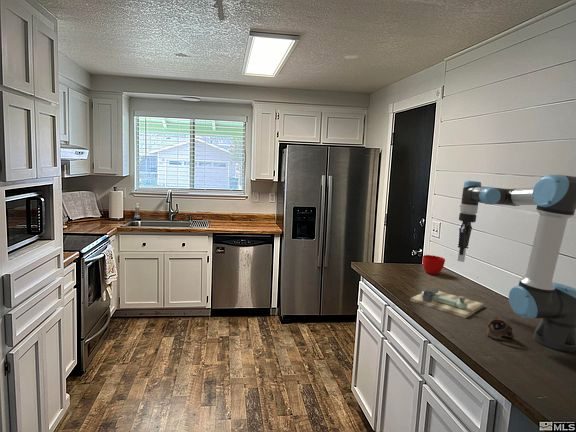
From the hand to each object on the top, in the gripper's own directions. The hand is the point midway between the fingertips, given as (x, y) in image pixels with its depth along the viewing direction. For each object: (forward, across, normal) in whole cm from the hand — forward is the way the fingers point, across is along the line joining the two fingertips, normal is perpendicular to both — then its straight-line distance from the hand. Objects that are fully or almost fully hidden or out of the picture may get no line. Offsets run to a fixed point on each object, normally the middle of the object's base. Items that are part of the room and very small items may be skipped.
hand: (460, 261), depth 198 cm
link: (+19, +12, -2) cm, 22 cm away
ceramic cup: (+21, -48, -29) cm, 60 cm away
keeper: (+19, +13, -8) cm, 24 cm away
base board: (+20, +7, -1) cm, 22 cm away
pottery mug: (+21, +31, +26) cm, 45 cm away
